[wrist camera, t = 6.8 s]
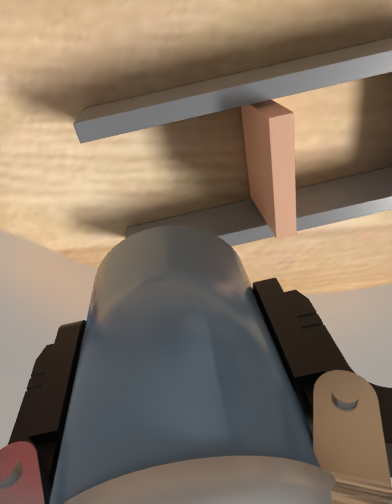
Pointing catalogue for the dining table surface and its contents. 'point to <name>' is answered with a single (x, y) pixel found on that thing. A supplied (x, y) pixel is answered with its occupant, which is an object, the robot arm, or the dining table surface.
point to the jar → (182, 386)
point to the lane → (244, 93)
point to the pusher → (271, 163)
